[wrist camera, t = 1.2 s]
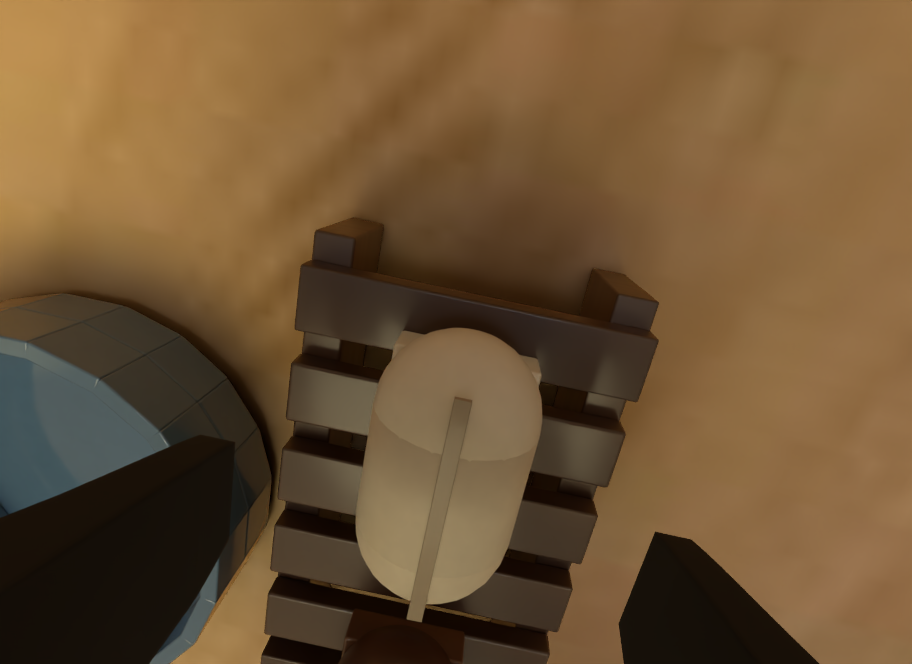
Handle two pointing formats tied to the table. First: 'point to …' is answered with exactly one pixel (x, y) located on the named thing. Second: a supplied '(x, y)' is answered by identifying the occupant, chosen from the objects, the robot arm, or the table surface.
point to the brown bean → (399, 641)
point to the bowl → (119, 419)
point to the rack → (349, 412)
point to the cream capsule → (446, 463)
